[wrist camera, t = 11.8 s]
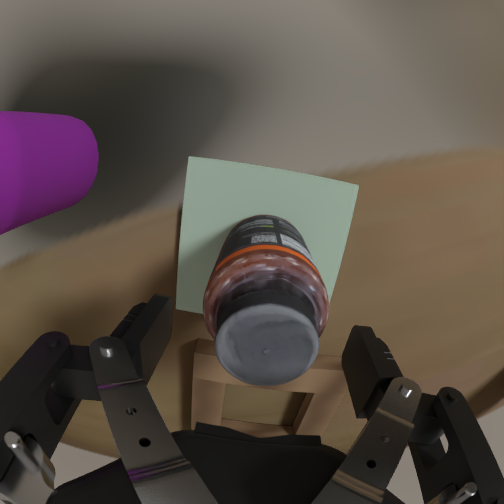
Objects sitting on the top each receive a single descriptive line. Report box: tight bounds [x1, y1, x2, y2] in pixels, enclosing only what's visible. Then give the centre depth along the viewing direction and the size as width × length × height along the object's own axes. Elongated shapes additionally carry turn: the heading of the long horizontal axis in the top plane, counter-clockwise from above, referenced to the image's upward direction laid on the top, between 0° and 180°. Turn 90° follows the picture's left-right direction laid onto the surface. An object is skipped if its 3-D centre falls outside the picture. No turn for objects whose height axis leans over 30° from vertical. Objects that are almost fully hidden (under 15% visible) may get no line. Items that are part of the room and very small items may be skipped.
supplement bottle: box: [203, 214, 329, 386], centre depth 16 cm, size 6×6×11 cm
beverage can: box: [0, 111, 99, 235], centre depth 14 cm, size 8×8×12 cm
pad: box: [176, 156, 359, 314], centre depth 21 cm, size 12×12×1 cm
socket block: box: [191, 339, 348, 438], centre depth 26 cm, size 14×14×2 cm
